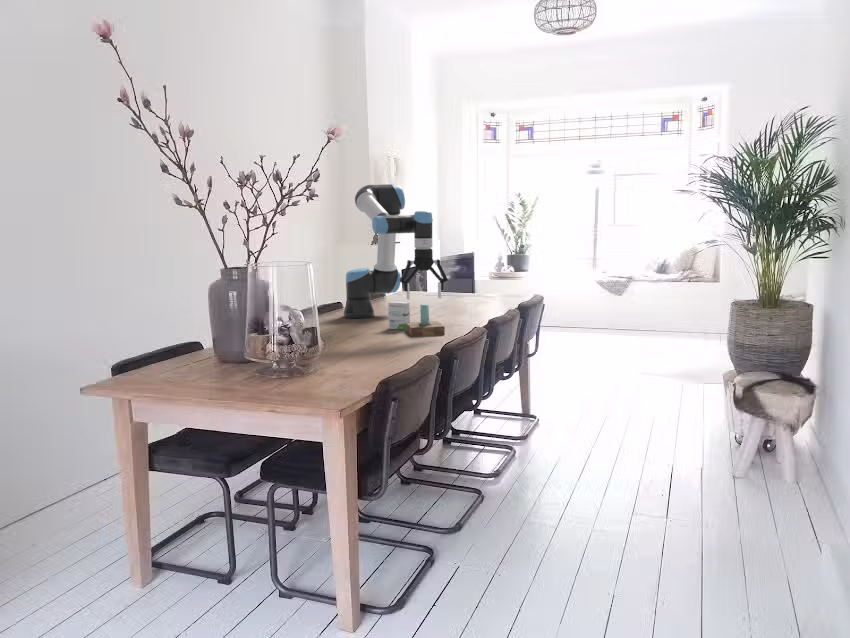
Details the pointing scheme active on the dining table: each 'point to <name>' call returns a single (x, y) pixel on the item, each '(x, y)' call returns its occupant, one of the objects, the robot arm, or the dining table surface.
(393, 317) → the ink box
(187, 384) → the dining table surface
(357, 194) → the robot arm
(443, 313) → the dining table surface
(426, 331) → the socket
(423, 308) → the peg
